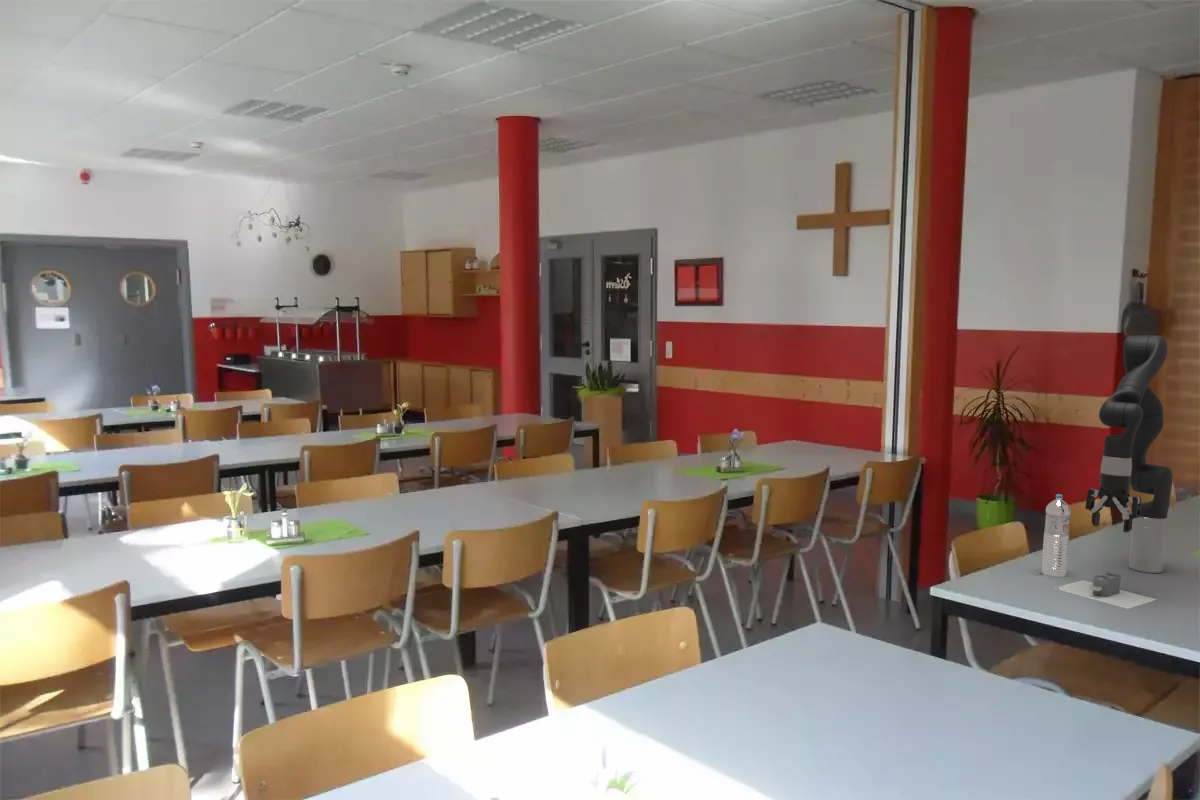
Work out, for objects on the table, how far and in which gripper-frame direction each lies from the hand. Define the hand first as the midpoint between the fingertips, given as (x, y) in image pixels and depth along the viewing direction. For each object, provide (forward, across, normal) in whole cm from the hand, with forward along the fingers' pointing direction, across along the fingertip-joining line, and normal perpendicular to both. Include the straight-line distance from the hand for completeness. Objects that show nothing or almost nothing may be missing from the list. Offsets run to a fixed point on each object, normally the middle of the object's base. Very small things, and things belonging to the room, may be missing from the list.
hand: (1110, 528), depth 261 cm
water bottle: (+19, +18, -5) cm, 27 cm away
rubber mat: (+19, -1, +2) cm, 19 cm away
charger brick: (+18, -1, +1) cm, 18 cm away
